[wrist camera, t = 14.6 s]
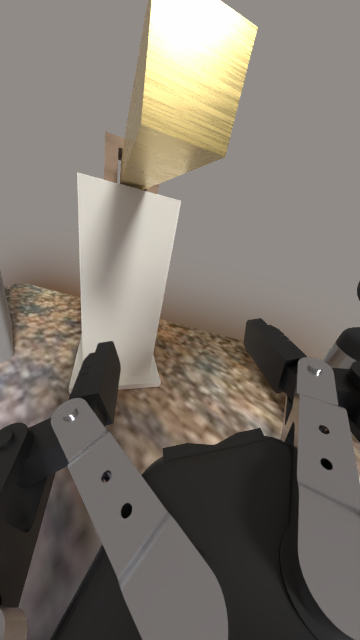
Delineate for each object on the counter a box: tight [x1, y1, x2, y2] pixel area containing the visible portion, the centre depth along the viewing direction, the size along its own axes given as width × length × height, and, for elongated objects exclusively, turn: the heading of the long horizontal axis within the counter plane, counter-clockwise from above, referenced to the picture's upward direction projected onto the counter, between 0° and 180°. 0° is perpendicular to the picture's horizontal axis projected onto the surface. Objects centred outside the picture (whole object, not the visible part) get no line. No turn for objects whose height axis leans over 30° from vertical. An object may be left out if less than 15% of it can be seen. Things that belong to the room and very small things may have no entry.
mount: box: [68, 132, 181, 394], centre depth 36 cm, size 20×16×37 cm
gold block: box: [120, 0, 257, 190], centre depth 16 cm, size 24×3×3 cm, turn 16°
